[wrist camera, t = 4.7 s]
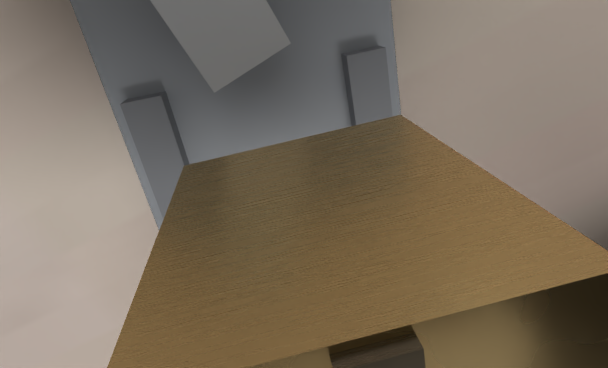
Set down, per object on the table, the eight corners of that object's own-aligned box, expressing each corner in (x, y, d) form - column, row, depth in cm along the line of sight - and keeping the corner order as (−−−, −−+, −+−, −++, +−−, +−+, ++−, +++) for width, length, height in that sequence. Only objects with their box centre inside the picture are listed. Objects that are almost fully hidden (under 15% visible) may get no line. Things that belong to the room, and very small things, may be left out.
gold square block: (417, 287, 11) (594, 566, 6) (241, 332, 11) (241, 670, 5) (400, 114, 9) (653, 280, 4) (183, 165, 9) (83, 430, 3)
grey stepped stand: (407, 275, 24) (455, 354, 18) (205, 324, 23) (192, 420, 18) (364, -143, 16) (428, -229, 10) (53, -84, 15) (-59, -140, 10)
